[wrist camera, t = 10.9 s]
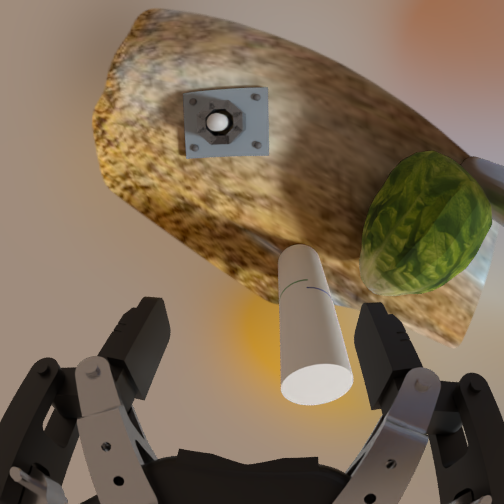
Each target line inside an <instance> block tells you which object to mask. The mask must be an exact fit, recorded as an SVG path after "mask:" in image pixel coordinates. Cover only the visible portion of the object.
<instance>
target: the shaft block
mask: <svg viewBox="0 0 504 504" xmlns="http://www.w3.org/2000/svg"><path fill="white" fill-rule="evenodd" d="M219 100H229V101H231V102H233V103H234V104H235V105H236V106H238V107H239V108H240V109H241V110H242V111H243V112H244V113H245V114H246V130H245V131H244V132H243V133H242V135H241V136H240V137H239V138H238V139H237V140H236V141H235V142H233V143H231V144H218V145H210V144H209V143H208V142H207V141H206V140H205V139H204V138H202V137H201V136H200V135H199V134H198V133H197V114H198V113H199V112H200V111H201V109H202V108H203V107H204V106H205V105H206V104H207V103H208V102H209V101H219ZM183 107H184V128H185V145H186V159H190V158H205V157H224V156H269V121H268V87H263V88H234V89H219V90H208V91H198V92H190V93H183ZM207 126H208V128H209V129H210V130H212V131H218V132H219V133H220V134H227V133H228V132H229V131H230V130H231V129H232V128H233V116H232V115H231V114H230V113H229V112H228V111H220V112H219V113H214V114H211V115H210V116H209V117H208V119H207Z"/></svg>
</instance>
